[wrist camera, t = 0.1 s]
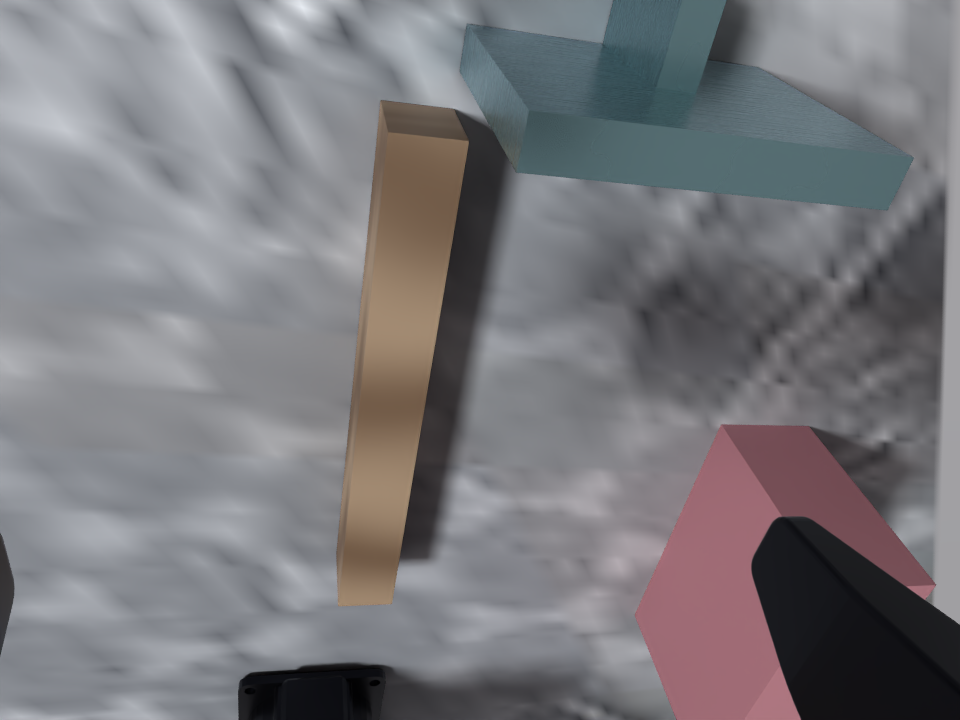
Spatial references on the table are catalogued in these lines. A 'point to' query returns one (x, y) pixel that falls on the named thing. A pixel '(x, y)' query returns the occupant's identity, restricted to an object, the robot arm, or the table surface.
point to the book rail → (396, 337)
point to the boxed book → (749, 569)
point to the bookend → (669, 113)
